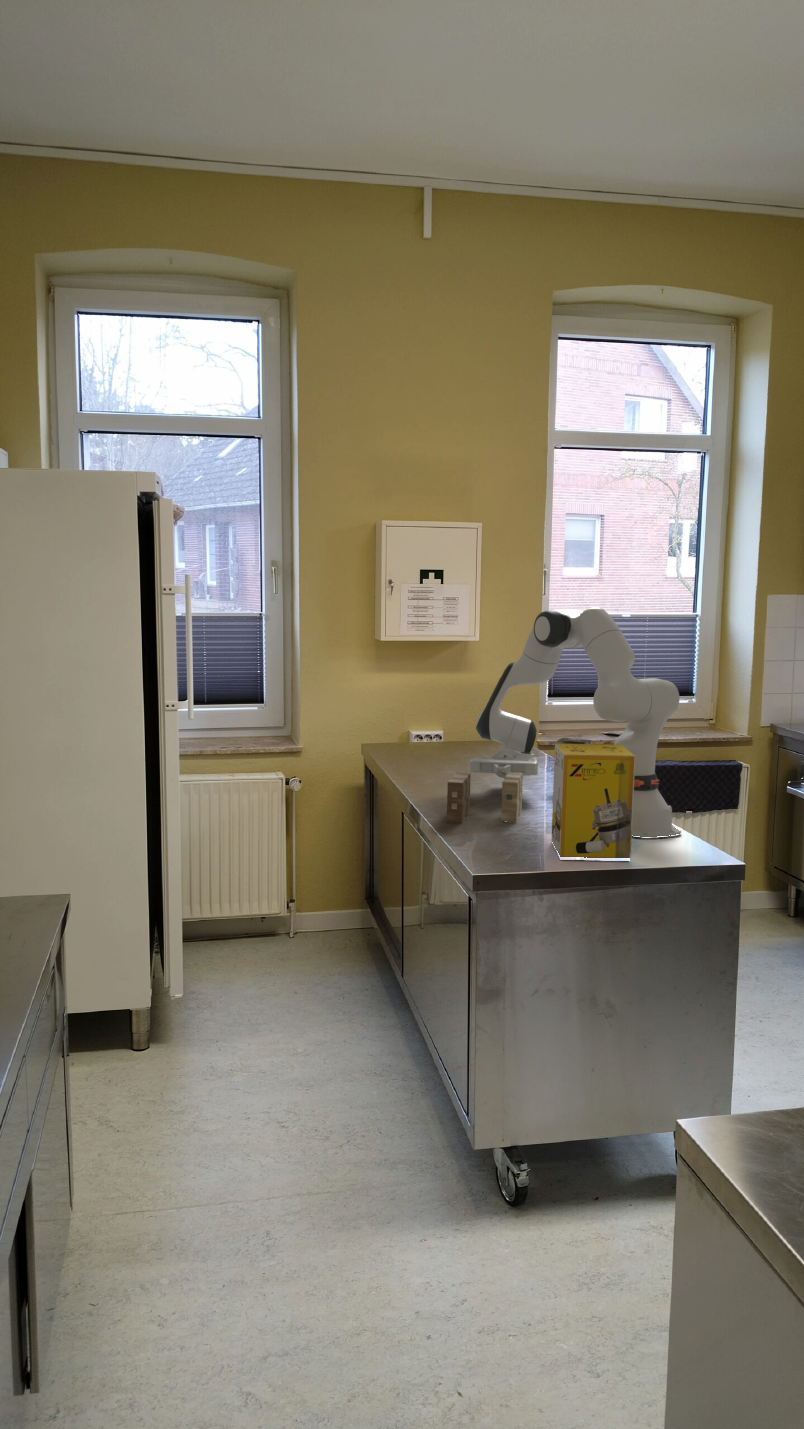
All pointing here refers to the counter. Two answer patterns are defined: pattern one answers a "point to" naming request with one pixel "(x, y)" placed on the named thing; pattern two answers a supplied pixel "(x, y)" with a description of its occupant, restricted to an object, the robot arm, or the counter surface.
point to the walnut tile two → (458, 797)
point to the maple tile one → (511, 797)
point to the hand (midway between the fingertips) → (500, 770)
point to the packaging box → (593, 800)
